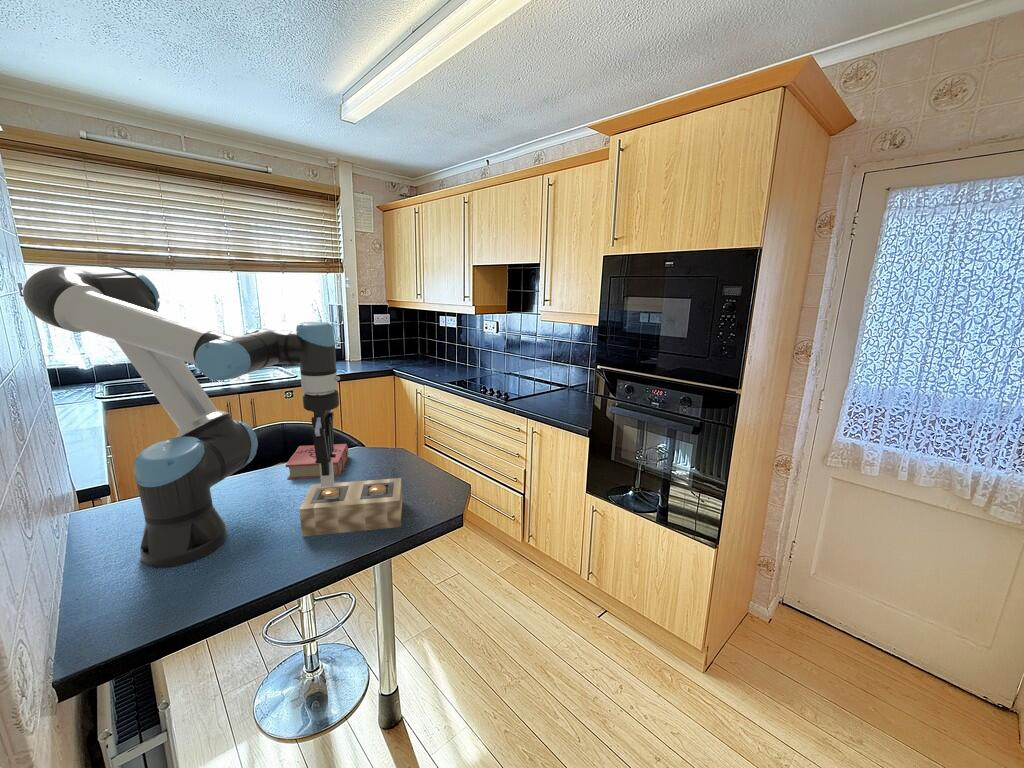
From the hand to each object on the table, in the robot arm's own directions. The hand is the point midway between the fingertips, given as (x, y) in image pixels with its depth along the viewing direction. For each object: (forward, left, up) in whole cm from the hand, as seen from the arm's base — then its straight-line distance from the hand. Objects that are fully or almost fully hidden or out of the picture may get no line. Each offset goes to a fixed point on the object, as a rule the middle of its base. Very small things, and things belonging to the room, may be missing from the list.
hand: (327, 485), depth 104 cm
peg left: (0, 0, -9) cm, 9 cm away
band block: (+6, 0, -9) cm, 11 cm away
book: (-9, +32, -10) cm, 35 cm away
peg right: (+11, 0, -9) cm, 14 cm away
